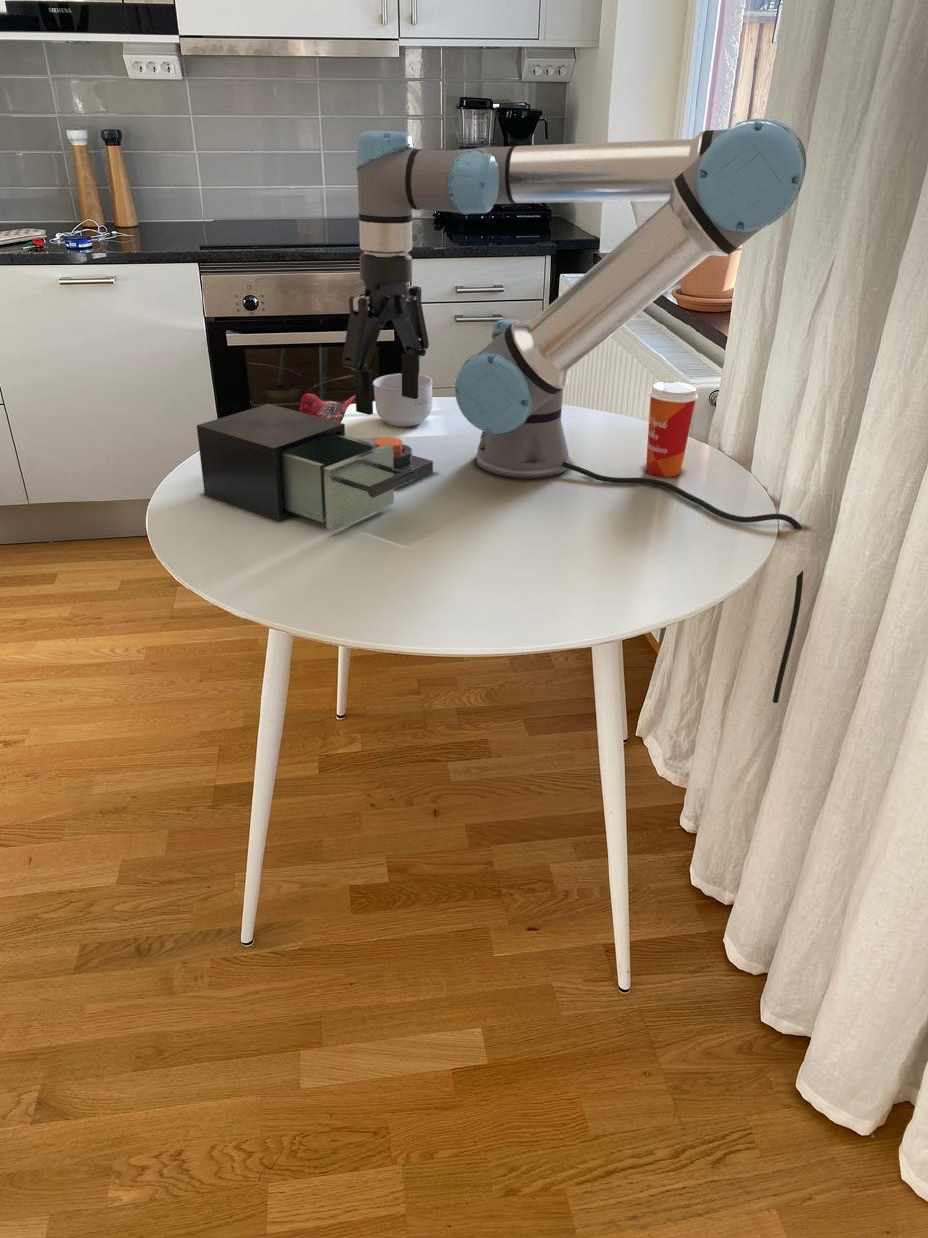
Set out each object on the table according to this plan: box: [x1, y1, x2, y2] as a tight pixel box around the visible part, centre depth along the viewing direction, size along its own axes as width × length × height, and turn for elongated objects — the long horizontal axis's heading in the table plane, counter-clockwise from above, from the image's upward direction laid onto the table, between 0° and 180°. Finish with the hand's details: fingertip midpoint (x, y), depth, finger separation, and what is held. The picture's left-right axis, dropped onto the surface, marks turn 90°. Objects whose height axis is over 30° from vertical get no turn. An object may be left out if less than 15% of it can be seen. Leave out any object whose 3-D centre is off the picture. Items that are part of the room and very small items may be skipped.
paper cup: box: [645, 381, 699, 478], centre depth 151 cm, size 8×8×14 cm
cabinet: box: [196, 403, 346, 522], centre depth 139 cm, size 16×14×11 cm
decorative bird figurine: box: [298, 392, 356, 423], centre depth 161 cm, size 3×18×10 cm, turn 154°
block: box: [393, 443, 434, 490], centre depth 149 cm, size 11×9×4 cm
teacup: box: [372, 372, 433, 428], centre depth 174 cm, size 14×11×8 cm
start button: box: [373, 436, 403, 455], centre depth 148 cm, size 4×4×2 cm
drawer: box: [279, 433, 416, 532], centre depth 132 cm, size 21×13×9 cm, turn 54°
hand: (387, 404), depth 145 cm, fingers open, 10 cm apart
